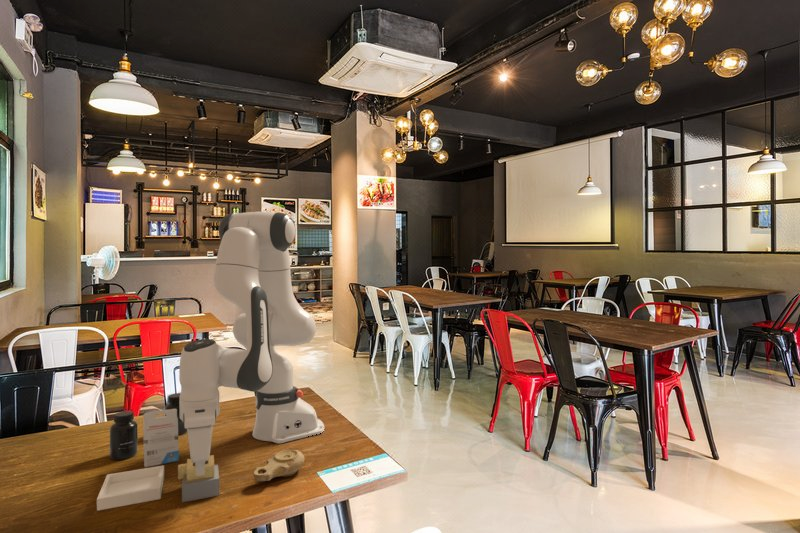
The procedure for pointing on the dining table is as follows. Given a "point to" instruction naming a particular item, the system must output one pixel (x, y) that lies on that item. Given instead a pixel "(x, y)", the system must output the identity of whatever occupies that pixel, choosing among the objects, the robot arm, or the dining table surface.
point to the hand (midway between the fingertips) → (200, 466)
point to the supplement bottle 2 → (174, 404)
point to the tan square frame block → (190, 470)
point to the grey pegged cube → (201, 487)
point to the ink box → (160, 437)
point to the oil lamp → (280, 465)
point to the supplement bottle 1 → (123, 436)
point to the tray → (131, 487)
